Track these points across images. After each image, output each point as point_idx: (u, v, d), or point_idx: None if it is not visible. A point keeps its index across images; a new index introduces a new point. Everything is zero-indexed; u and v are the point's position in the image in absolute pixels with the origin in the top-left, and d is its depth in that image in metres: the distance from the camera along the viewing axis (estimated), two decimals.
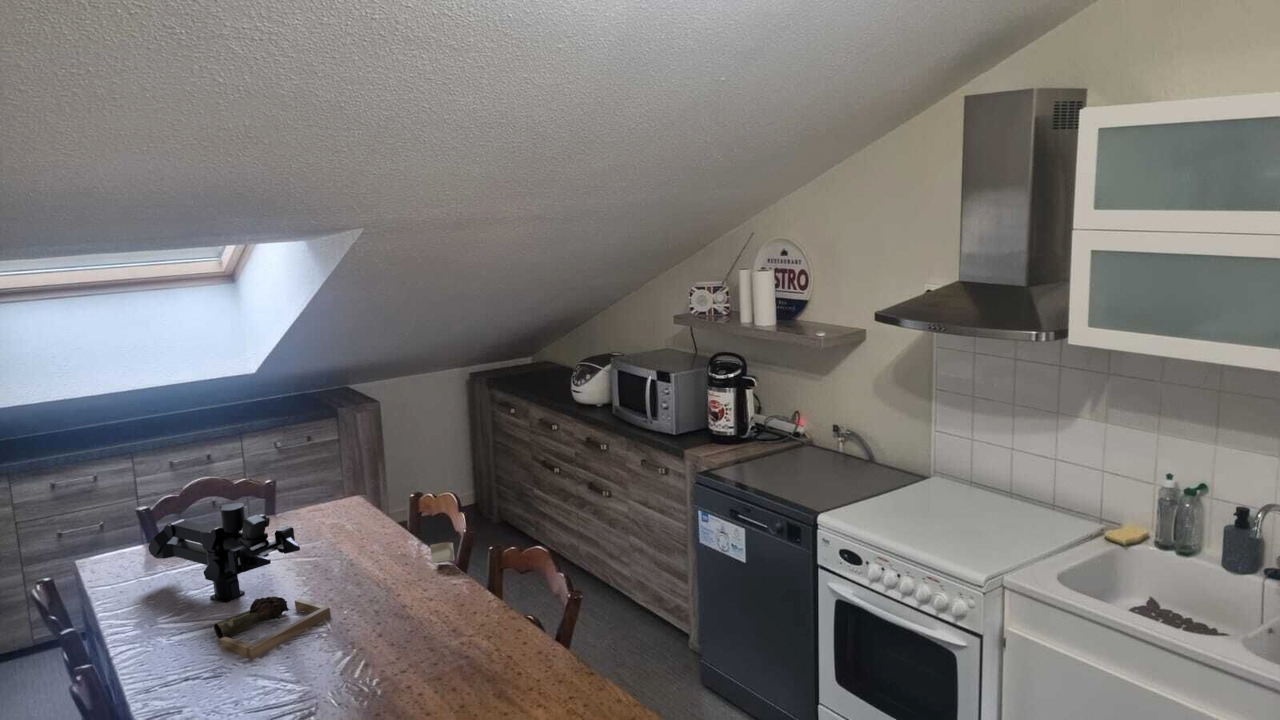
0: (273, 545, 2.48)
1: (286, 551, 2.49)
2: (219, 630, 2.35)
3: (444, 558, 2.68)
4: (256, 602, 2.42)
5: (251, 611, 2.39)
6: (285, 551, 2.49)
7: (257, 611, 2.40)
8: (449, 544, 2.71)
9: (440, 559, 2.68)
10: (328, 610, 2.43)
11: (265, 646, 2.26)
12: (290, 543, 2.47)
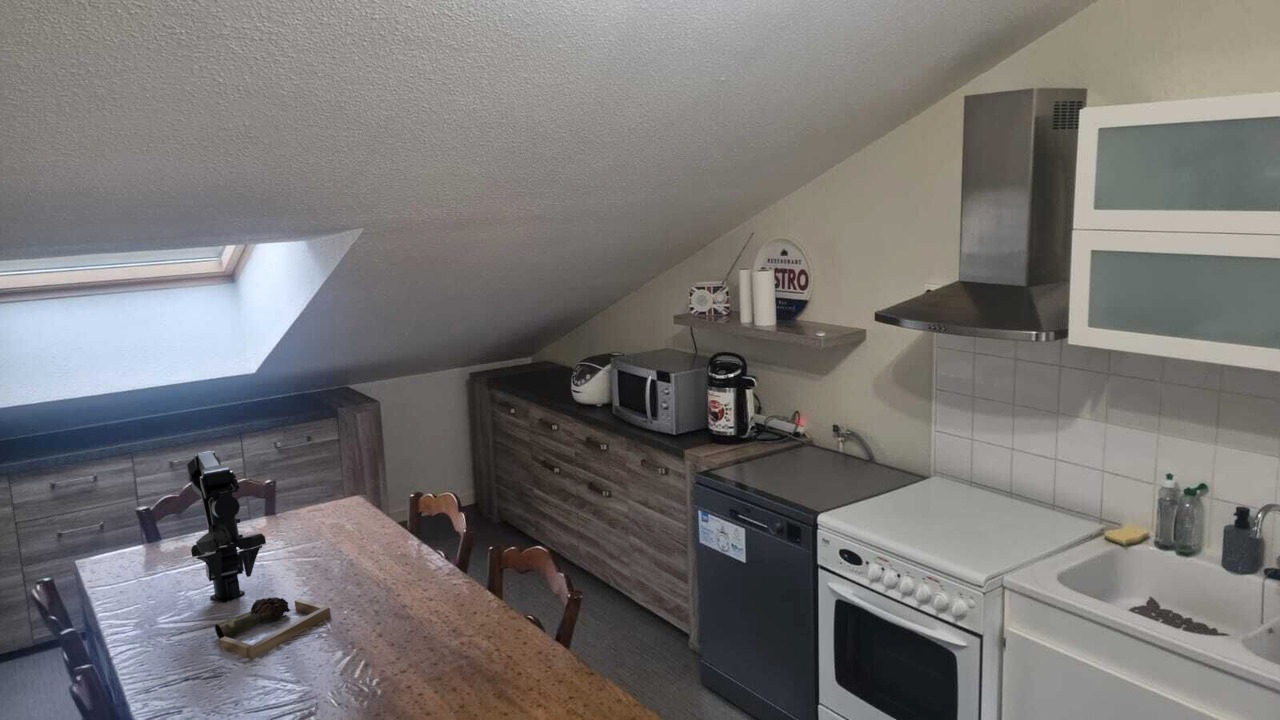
0: (237, 546, 2.40)
1: None
2: (220, 631, 2.35)
3: None
4: (257, 603, 2.41)
5: (252, 612, 2.39)
6: None
7: (258, 612, 2.39)
8: None
9: None
10: (328, 610, 2.43)
11: (265, 646, 2.26)
12: None
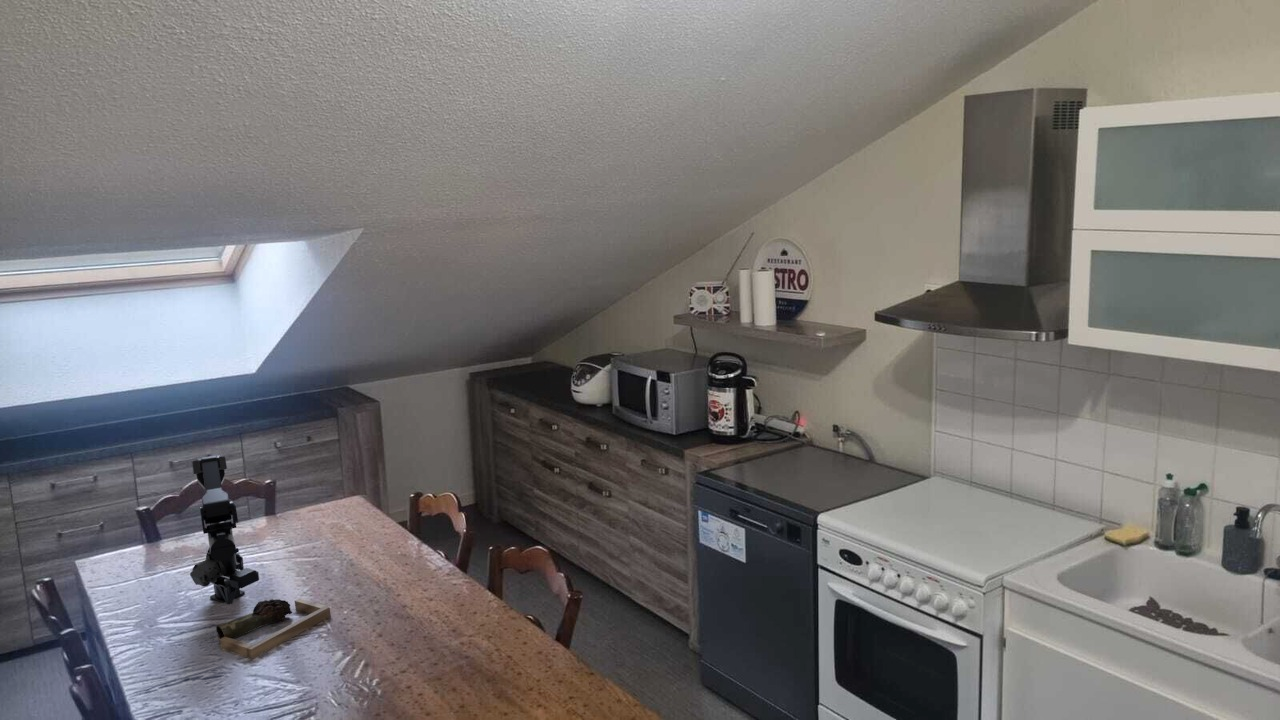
0: None
1: None
2: (221, 633, 2.34)
3: None
4: (259, 605, 2.40)
5: (254, 614, 2.38)
6: None
7: (260, 614, 2.38)
8: None
9: None
10: (328, 610, 2.43)
11: (265, 646, 2.26)
12: None
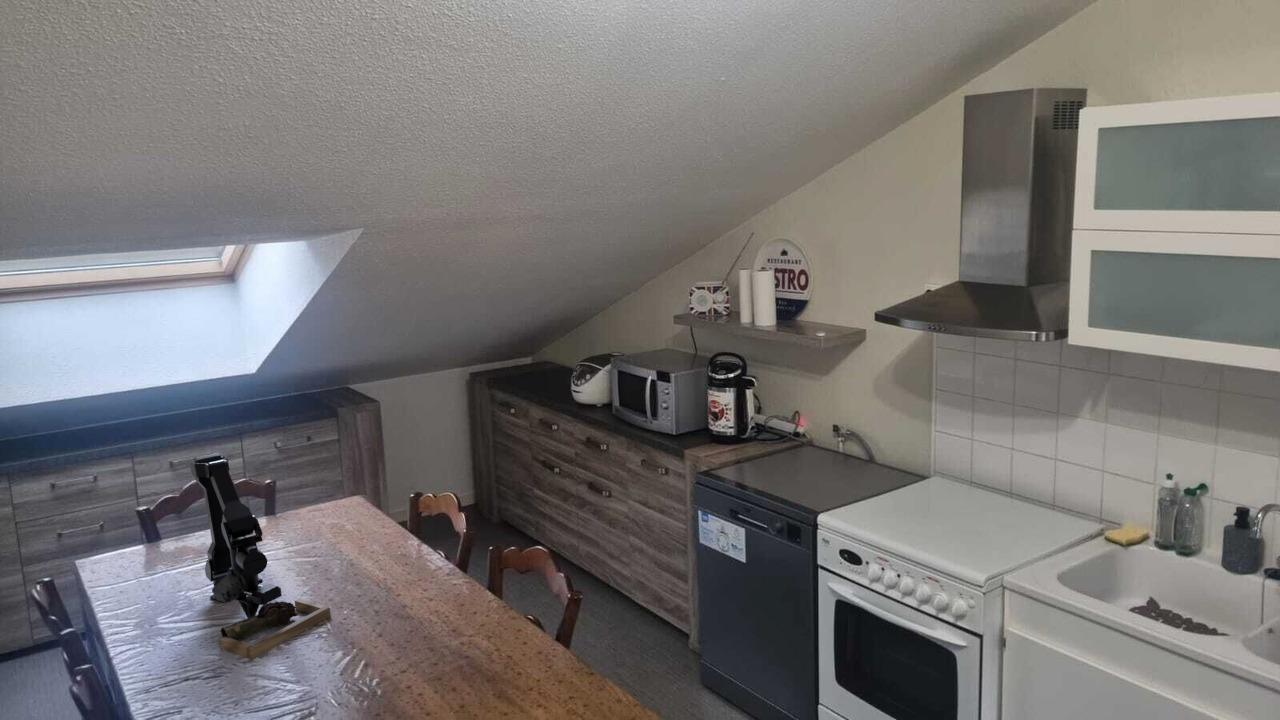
0: None
1: None
2: (226, 635, 2.33)
3: None
4: (264, 607, 2.39)
5: (259, 616, 2.36)
6: None
7: (265, 616, 2.36)
8: None
9: None
10: (328, 610, 2.43)
11: (265, 646, 2.26)
12: None
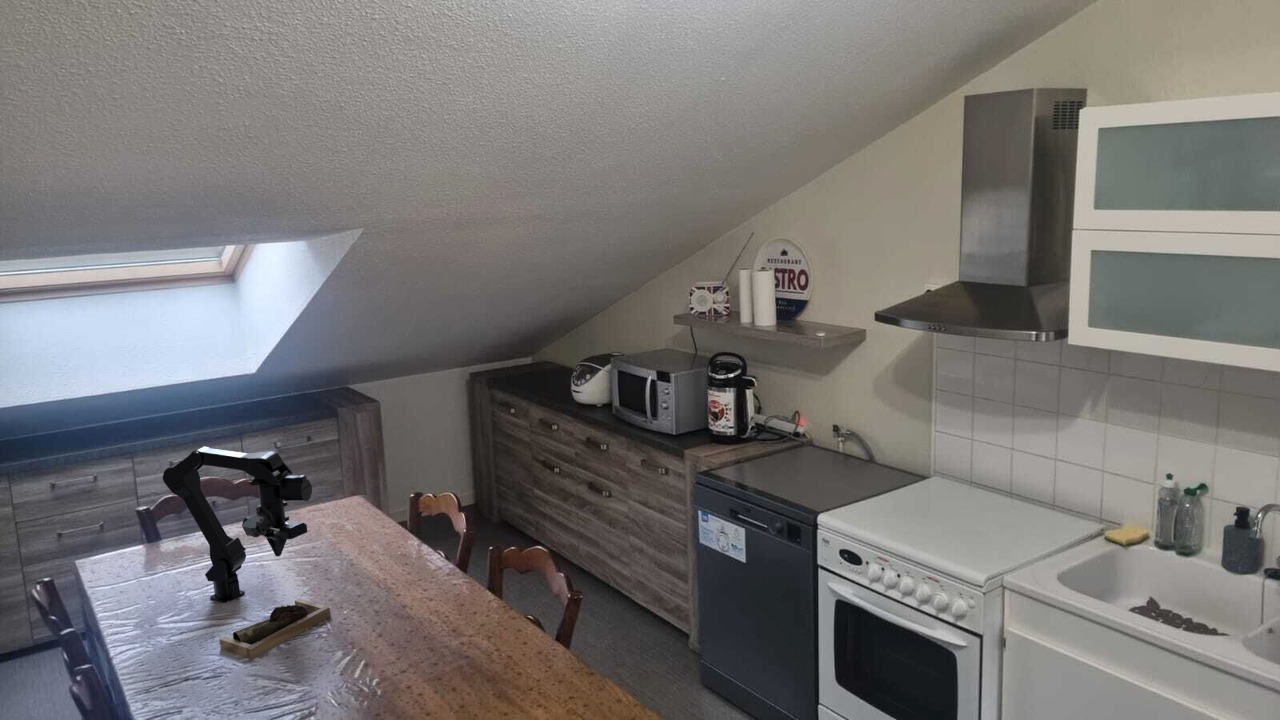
0: None
1: None
2: (238, 639, 2.30)
3: None
4: (276, 611, 2.37)
5: (271, 620, 2.34)
6: None
7: (277, 620, 2.34)
8: None
9: None
10: (328, 610, 2.43)
11: (265, 646, 2.26)
12: None
